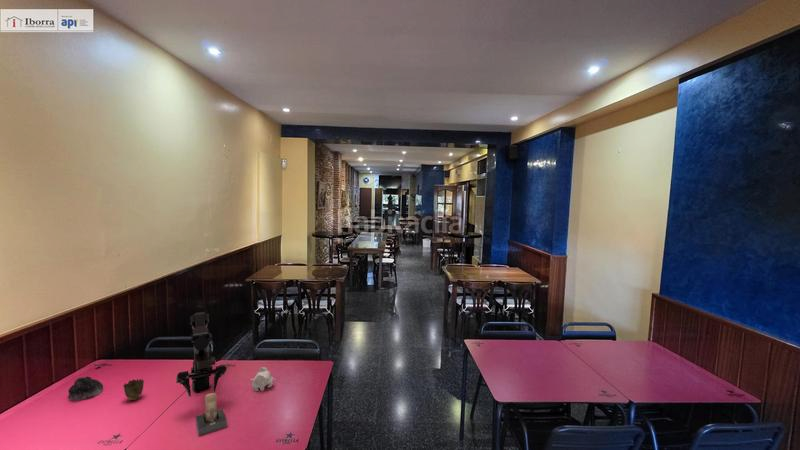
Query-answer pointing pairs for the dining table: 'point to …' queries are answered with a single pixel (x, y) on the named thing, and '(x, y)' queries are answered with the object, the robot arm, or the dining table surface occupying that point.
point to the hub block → (210, 427)
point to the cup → (133, 389)
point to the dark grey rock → (84, 389)
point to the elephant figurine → (262, 379)
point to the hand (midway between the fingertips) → (202, 394)
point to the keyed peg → (210, 408)
